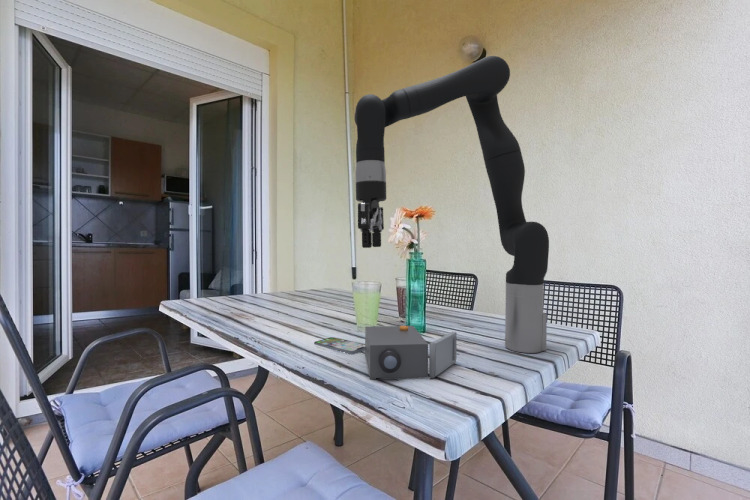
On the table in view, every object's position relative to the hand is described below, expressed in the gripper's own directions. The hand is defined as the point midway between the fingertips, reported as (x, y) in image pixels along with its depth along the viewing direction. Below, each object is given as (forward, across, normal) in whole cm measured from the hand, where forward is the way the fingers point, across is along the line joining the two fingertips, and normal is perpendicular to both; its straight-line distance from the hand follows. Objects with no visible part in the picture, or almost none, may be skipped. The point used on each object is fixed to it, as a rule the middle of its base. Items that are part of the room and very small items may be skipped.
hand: (372, 247), depth 89 cm
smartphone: (+27, +4, +10) cm, 29 cm away
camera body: (+27, -7, -6) cm, 28 cm away
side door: (+26, -7, -18) cm, 33 cm away
